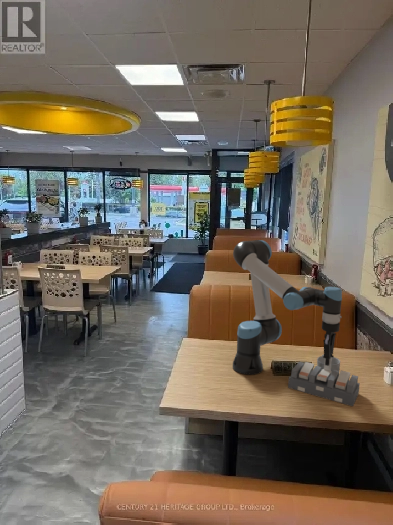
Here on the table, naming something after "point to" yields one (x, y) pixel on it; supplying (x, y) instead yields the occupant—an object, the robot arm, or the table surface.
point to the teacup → (334, 363)
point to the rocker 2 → (324, 375)
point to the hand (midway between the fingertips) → (327, 370)
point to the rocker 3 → (342, 380)
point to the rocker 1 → (306, 370)
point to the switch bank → (324, 385)
